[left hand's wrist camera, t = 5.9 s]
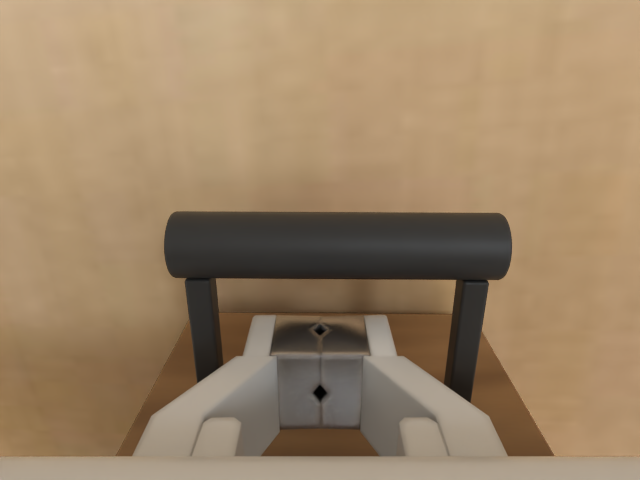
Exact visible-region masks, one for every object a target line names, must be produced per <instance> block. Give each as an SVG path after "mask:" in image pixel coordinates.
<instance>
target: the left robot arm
mask: <svg viewBox="0 0 640 480" xmlns="http://www.w3.org/2000/svg"><path fill="white" fill-rule="evenodd" d="M288 429H352V430H360V432H361V433H362V434H363V436H364V437H365V438H366V439H367V441H368V442H369V443H370V444H371V446H372V447H373V448H374V450H375V451H376V452H377V453H378V455H379V456H261V455H262V454H263V452H264V451H265V450H266V449H267V447H268V446H269V445H270V444H271V442H272V441H273V440H274V439H275V437H276V436H277V435H278V434H279V432H280V430H288ZM0 480H640V456H508V455H507V453H506V451H505V449H504V447H503V445H502V443H501V441H500V438H499V436H498V434H497V432H496V430H495V428H494V426H493V424H492V422H491V420H490V417H489V416H488V415H486V414H485V413H484V412H482V411H481V410H479V409H478V408H477V407H475V406H474V405H472V404H471V403H469V402H468V401H467V400H465V399H464V398H462V397H461V396H460V395H458V394H457V393H455V392H454V391H452V390H451V389H450V388H448V387H447V386H445V385H444V384H443V383H441V382H440V381H438V380H437V379H435V378H434V377H433V376H431V375H430V374H428V373H427V372H426V371H424V370H423V369H421V368H420V367H419V366H417V365H416V364H414V363H413V362H411V361H410V360H409V359H407V358H406V357H404V356H397V353H396V349H395V345H394V341H393V338H392V334H391V330H390V327H389V323H388V319H387V316H386V315H356V316H297V315H277V316H276V315H255V316H254V317H253V319H252V322H251V326H250V330H249V334H248V337H247V341H246V345H245V349H244V352H243V356H236V357H234V358H233V359H231V360H230V361H229V362H227V363H226V364H224V365H223V366H221V367H220V368H219V369H217V370H216V371H214V372H213V373H211V374H210V375H209V376H207V377H206V378H204V379H203V380H202V381H200V382H199V383H197V384H196V385H194V386H193V387H192V388H190V389H189V390H187V391H186V392H184V393H183V394H182V395H180V396H179V397H177V398H176V399H175V400H173V401H172V402H170V403H169V404H167V405H166V406H165V407H163V408H162V409H160V410H159V411H157V412H156V413H155V414H153V415H152V416H151V418H150V420H149V422H148V424H147V426H146V428H145V430H144V432H143V435H142V437H141V439H140V441H139V443H138V445H137V447H136V449H135V451H134V453H133V455H132V456H0Z"/></svg>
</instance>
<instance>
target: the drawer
mask: <svg viewBox="0 0 640 480" xmlns="http://www.w3.org/2000/svg"><path fill="white" fill-rule="evenodd" d="M164 252H165V260H166V265H167V268H168V271H169V273H170V274H171V275H172V276H173V277H175V278H186V280H185V287H186V295H187V304H188V312H189V321H188V323H187V325H186V326H185V328H184V330H183V332H182V334H181V336H180V338H179V339H178V341H177V343H176V345H175V347H174V349H173V351H172V352H171V354H170V356H169V358H168V360H167V362H166V364H165V365H164V367H163V369H162V371H161V373H160V375H159V377H158V378H157V380H156V382H155V384H154V386H153V388H152V390H151V391H150V393H149V395H148V397H147V399H146V401H145V403H144V405H143V406H142V408H141V410H140V412H139V414H138V416H137V418H136V419H135V421H134V423H133V425H132V427H131V429H130V431H129V432H128V434H127V436H126V438H125V440H124V442H123V444H122V445H121V447H120V449H119V451H118V453H117V455H116V456H132V455H133V453H134V451H135V449H136V447H137V445H138V443H139V441H140V439H141V437H142V435H143V432H144V430H145V428H146V426H147V424H148V422H149V420H150V418H151V416H152V415H153V414H155V413H156V412H157V411H159V410H160V409H162V408H163V407H165V406H166V405H167V404H169V403H170V402H172V401H173V400H175V399H176V398H177V397H179V396H180V395H182V394H183V393H184V392H186V391H187V390H189V389H190V388H192V387H193V386H194V385H196V384H197V383H199V382H200V381H202V380H203V379H204V378H206V377H207V376H209V375H210V374H211V373H213V372H214V371H216V370H217V369H219V368H220V367H221V366H223V365H224V364H226V363H227V362H229V361H230V360H231V359H233V358H234V357H236V356H243V352H244V349H245V345H246V341H247V337H248V334H249V330H250V326H251V322H252V319H253V317H254V316H255V315H276V316H277V315H297V316H356V315H386V316H387V319H388V323H389V327H390V330H391V334H392V338H393V341H394V345H395V349H396V353H397V356H404V357H406V358H407V359H409V360H410V361H411V362H413V363H414V364H416V365H417V366H419V367H420V368H421V369H423V370H424V371H426V372H427V373H428V374H430V375H431V376H433V377H434V378H435V379H437V380H438V381H440V382H441V383H443V384H444V385H445V386H447V387H448V388H450V389H451V390H452V391H454V392H455V393H457V394H458V395H460V396H461V397H462V398H464V399H465V400H467V401H468V402H469V403H471V404H472V405H474V406H475V407H477V408H478V409H479V410H481V411H482V412H484V413H485V414H486V415H488V416H489V417H490V420H491V422H492V424H493V426H494V428H495V430H496V432H497V434H498V436H499V438H500V441H501V443H502V445H503V447H504V449H505V451H506V453H507V455H508V456H554V454H553V453H552V451H551V449H550V447H549V446H548V444H547V442H546V441H545V439H544V437H543V435H542V434H541V432H540V430H539V428H538V427H537V425H536V423H535V422H534V420H533V418H532V416H531V415H530V413H529V411H528V410H527V408H526V406H525V404H524V403H523V401H522V399H521V398H520V396H519V394H518V392H517V391H516V389H515V387H514V386H513V384H512V382H511V380H510V379H509V377H508V375H507V374H506V372H505V370H504V368H503V367H502V365H501V363H500V362H499V360H498V358H497V356H496V355H495V353H494V351H493V349H492V348H491V346H490V344H489V343H488V341H487V339H486V337H485V336H484V334H483V332H482V324H483V318H484V311H485V305H486V298H487V292H488V285H489V283H488V281H487V280H500V279H502V278H503V277H504V276H505V275H506V273H507V271H508V269H509V266H510V261H511V254H512V239H511V232H510V227H509V224H508V222H507V220H506V218H505V217H504V216H503V215H502V214H500V213H380V212H174V213H173V214H172V215H171V216H170V218H169V220H168V223H167V226H166V231H165V239H164ZM216 278H273V279H426V280H456V289H455V297H454V305H453V313H452V314H340V313H219V309H218V299H217V288H216ZM261 456H379V455H378V453H377V452H376V451H375V450H374V448H373V447H372V446H371V444H370V443H369V442H368V441H367V439H366V438H365V437H364V436H363V434H362V433H361V432H360V430H352V429H288V430H280V432H279V434H278V435H277V436H276V437H275V439H274V440H273V441H272V442H271V444H270V445H269V446H268V447H267V449H266V450H265V451H264V452H263V454H262V455H261Z"/></svg>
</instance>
